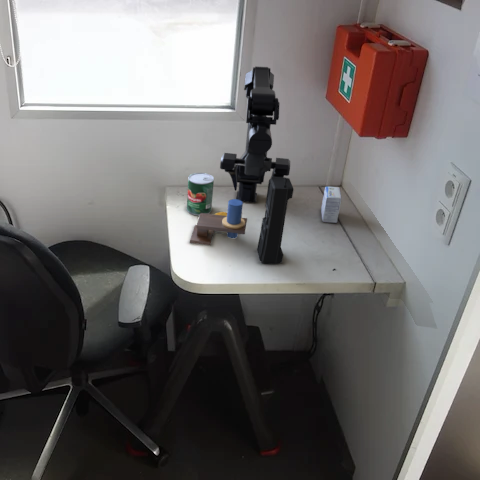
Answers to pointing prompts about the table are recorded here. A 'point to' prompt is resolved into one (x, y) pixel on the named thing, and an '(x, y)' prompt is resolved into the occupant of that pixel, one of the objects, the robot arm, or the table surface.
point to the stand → (211, 228)
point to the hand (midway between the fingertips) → (251, 191)
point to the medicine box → (331, 204)
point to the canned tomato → (200, 193)
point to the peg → (234, 217)
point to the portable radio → (274, 220)
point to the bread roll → (223, 215)
